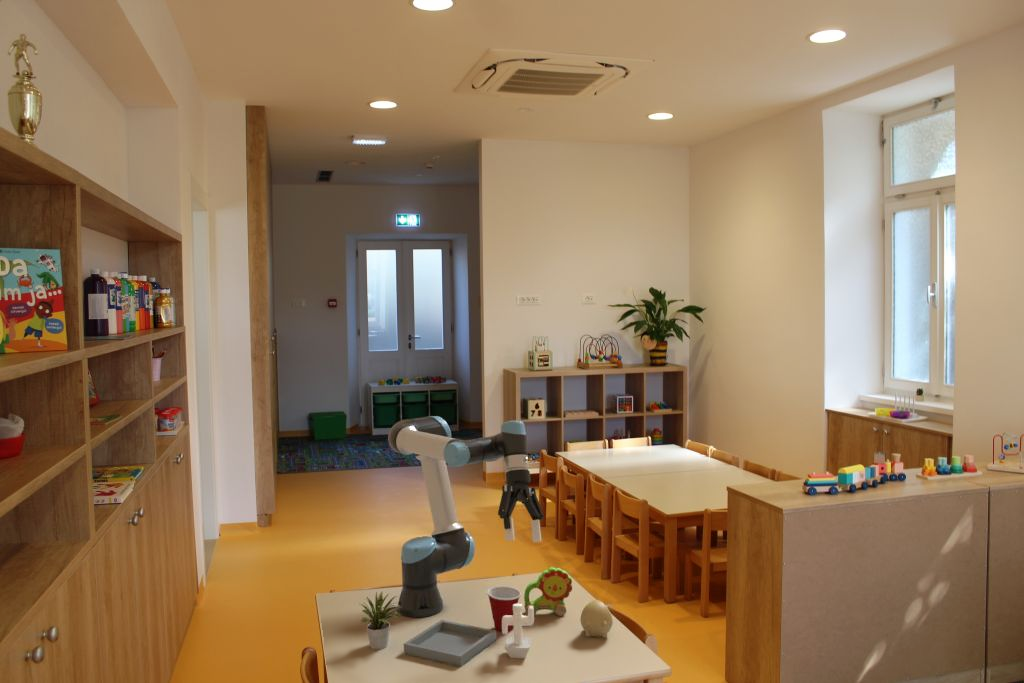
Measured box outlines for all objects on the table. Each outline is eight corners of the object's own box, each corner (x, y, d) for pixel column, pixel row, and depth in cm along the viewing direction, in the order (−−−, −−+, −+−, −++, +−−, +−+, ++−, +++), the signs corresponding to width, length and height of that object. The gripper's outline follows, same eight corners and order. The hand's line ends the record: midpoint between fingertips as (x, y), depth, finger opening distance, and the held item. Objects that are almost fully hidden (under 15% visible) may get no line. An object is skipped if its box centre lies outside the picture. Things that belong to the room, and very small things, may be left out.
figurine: (504, 649, 241) (502, 599, 240) (535, 650, 239) (534, 600, 239) (501, 659, 233) (499, 608, 233) (533, 660, 232) (532, 609, 232)
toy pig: (612, 646, 249) (614, 614, 256) (611, 628, 241) (613, 595, 248) (580, 644, 251) (583, 611, 258) (578, 626, 242) (581, 593, 250)
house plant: (373, 662, 234) (371, 606, 233) (343, 649, 243) (341, 596, 242) (410, 645, 245) (408, 592, 244) (380, 634, 254) (378, 582, 253)
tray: (403, 653, 239) (403, 643, 239) (441, 629, 257) (441, 619, 257) (461, 666, 230) (460, 656, 229) (496, 640, 247) (496, 630, 247)
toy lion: (525, 617, 264) (523, 571, 264) (524, 611, 270) (523, 566, 269) (573, 615, 265) (572, 570, 264) (571, 609, 270) (570, 564, 270)
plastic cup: (518, 636, 249) (517, 598, 249) (484, 634, 252) (483, 596, 251) (525, 622, 260) (524, 586, 259) (492, 621, 262) (491, 584, 262)
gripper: (502, 464, 238) (508, 538, 231) (550, 472, 257) (557, 540, 250) (482, 469, 242) (488, 541, 235) (531, 476, 261) (538, 543, 254)
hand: (524, 541), depth 242 cm, fingers open, 13 cm apart
